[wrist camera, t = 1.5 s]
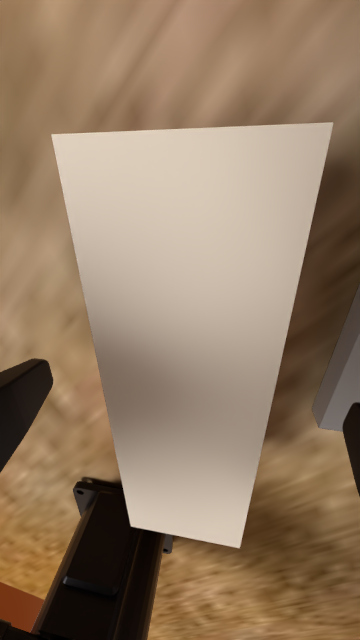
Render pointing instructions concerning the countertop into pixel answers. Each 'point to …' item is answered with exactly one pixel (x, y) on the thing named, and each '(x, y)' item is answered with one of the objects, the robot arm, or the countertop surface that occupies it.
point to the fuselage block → (190, 302)
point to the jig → (341, 375)
